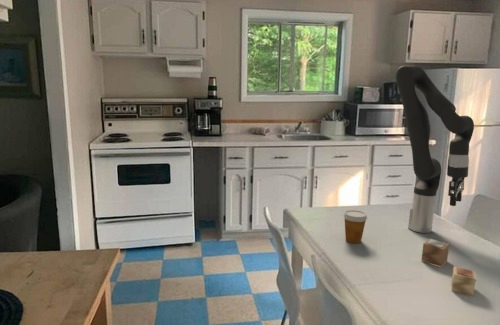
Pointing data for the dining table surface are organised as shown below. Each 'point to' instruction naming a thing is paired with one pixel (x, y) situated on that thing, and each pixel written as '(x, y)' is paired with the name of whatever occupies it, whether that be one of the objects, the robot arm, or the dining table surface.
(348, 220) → the disposable coffee cup
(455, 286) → the oak block
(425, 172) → the robot arm
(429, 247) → the walnut block
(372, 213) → the dining table surface
